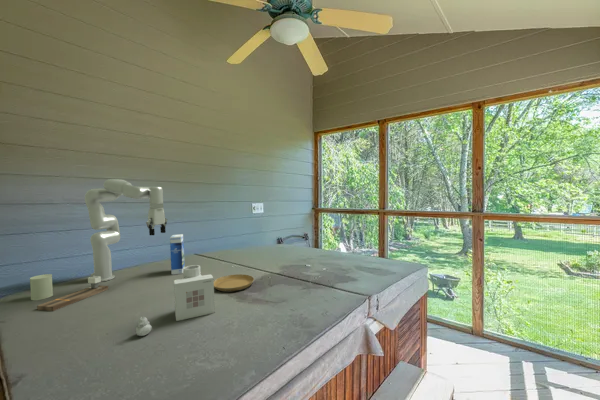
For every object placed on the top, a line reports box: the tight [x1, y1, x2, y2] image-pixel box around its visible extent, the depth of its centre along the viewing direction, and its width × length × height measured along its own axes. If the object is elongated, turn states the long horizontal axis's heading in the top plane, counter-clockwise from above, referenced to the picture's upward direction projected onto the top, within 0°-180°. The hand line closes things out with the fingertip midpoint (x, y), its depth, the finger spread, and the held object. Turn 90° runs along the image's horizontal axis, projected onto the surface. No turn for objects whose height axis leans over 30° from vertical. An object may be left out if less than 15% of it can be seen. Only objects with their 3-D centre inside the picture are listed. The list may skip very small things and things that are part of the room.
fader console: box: [36, 284, 109, 312], centre depth 150 cm, size 10×30×2 cm, turn 168°
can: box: [29, 273, 54, 301], centre depth 153 cm, size 9×9×12 cm
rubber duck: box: [135, 315, 153, 337], centre depth 109 cm, size 5×7×8 cm
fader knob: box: [87, 275, 102, 288], centre depth 160 cm, size 5×4×6 cm
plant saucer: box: [214, 273, 255, 293], centre depth 164 cm, size 24×24×3 cm
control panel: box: [173, 264, 216, 322], centre depth 131 cm, size 16×19×20 cm
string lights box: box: [169, 233, 186, 275], centre depth 196 cm, size 13×8×26 cm, turn 17°
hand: (157, 234), depth 173 cm, fingers open, 9 cm apart
